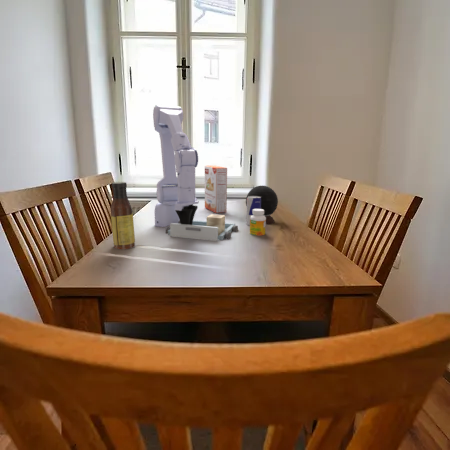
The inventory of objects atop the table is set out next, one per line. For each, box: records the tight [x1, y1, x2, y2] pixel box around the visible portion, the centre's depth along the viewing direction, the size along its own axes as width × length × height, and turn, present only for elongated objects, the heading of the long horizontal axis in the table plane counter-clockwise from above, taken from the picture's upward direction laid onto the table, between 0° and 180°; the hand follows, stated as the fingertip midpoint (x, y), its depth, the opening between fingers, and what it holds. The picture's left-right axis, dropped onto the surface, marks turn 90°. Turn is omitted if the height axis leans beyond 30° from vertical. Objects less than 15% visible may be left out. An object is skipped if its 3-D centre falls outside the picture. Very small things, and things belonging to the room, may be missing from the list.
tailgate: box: [169, 223, 219, 242], centre depth 110 cm, size 16×2×5 cm, turn 74°
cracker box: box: [204, 165, 228, 214], centre depth 161 cm, size 14×6×21 cm, turn 25°
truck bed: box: [165, 219, 239, 241], centre depth 118 cm, size 22×18×3 cm
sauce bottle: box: [110, 181, 136, 250], centre depth 101 cm, size 7×6×20 cm
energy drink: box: [245, 196, 261, 227], centre depth 130 cm, size 5×5×12 cm
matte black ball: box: [245, 185, 279, 225], centre depth 141 cm, size 13×13×15 cm
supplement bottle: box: [249, 209, 267, 237], centre depth 117 cm, size 5×5×10 cm
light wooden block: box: [206, 213, 226, 236], centre depth 116 cm, size 5×5×6 cm
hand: (186, 228), depth 113 cm, fingers open, 2 cm apart
